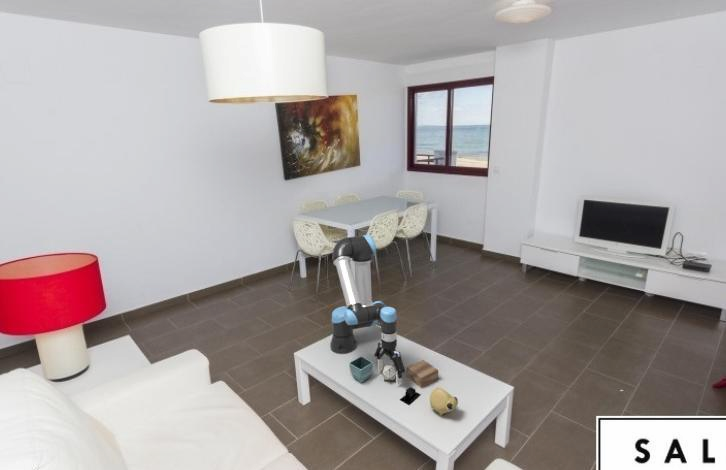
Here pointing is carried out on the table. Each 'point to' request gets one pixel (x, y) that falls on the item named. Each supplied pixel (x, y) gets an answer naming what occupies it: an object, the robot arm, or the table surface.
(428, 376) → the walnut block
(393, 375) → the game die
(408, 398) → the black angular block
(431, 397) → the toy pig
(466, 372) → the table surface
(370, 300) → the robot arm
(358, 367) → the flower pot
